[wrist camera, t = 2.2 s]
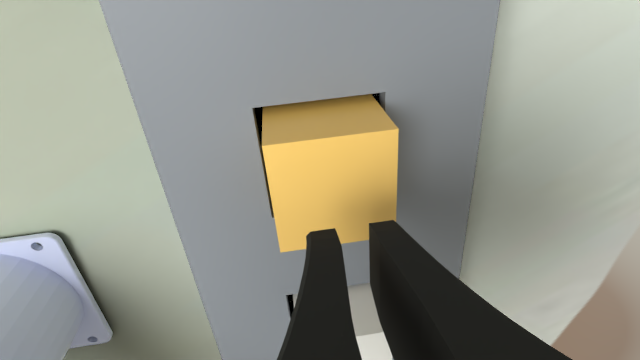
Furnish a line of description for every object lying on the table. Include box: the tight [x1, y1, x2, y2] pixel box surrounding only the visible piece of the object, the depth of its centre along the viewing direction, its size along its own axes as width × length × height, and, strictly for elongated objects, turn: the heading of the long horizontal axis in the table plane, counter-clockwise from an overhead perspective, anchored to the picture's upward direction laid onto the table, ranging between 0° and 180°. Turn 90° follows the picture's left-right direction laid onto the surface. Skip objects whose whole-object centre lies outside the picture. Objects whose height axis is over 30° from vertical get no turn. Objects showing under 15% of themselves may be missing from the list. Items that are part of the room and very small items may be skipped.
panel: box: [99, 0, 500, 360], centre depth 16 cm, size 12×26×4 cm, turn 4°
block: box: [293, 283, 392, 360], centre depth 18 cm, size 4×4×4 cm
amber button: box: [262, 94, 399, 253], centre depth 13 cm, size 4×4×4 cm
